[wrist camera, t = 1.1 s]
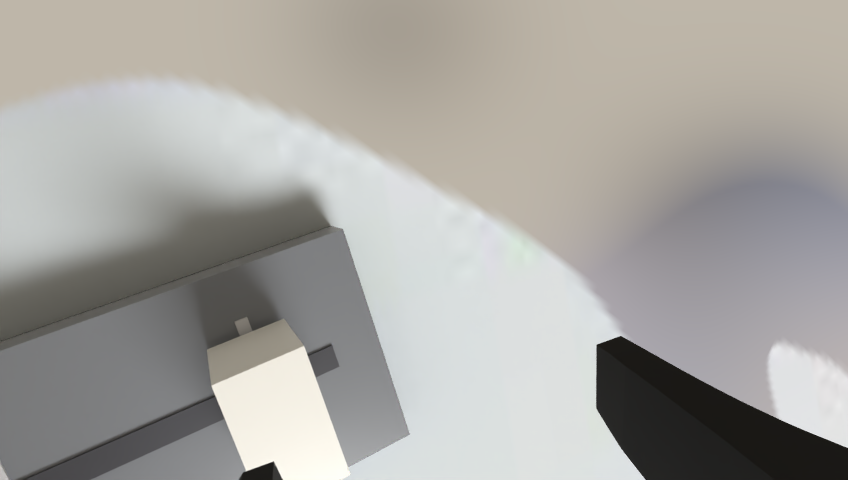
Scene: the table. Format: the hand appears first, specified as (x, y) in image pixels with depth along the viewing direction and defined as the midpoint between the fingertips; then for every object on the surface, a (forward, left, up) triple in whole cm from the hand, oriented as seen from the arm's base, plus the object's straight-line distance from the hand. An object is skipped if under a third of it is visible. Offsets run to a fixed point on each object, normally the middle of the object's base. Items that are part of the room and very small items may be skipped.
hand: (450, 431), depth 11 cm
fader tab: (-2, +3, -11) cm, 12 cm away
